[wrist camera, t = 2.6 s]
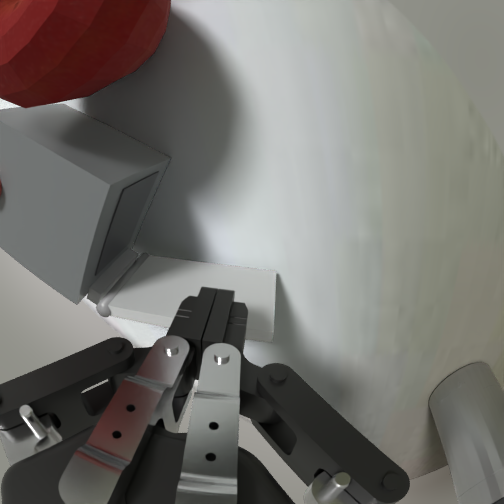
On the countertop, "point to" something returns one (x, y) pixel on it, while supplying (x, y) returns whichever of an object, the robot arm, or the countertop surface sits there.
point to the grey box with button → (73, 197)
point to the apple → (74, 46)
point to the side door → (189, 292)
